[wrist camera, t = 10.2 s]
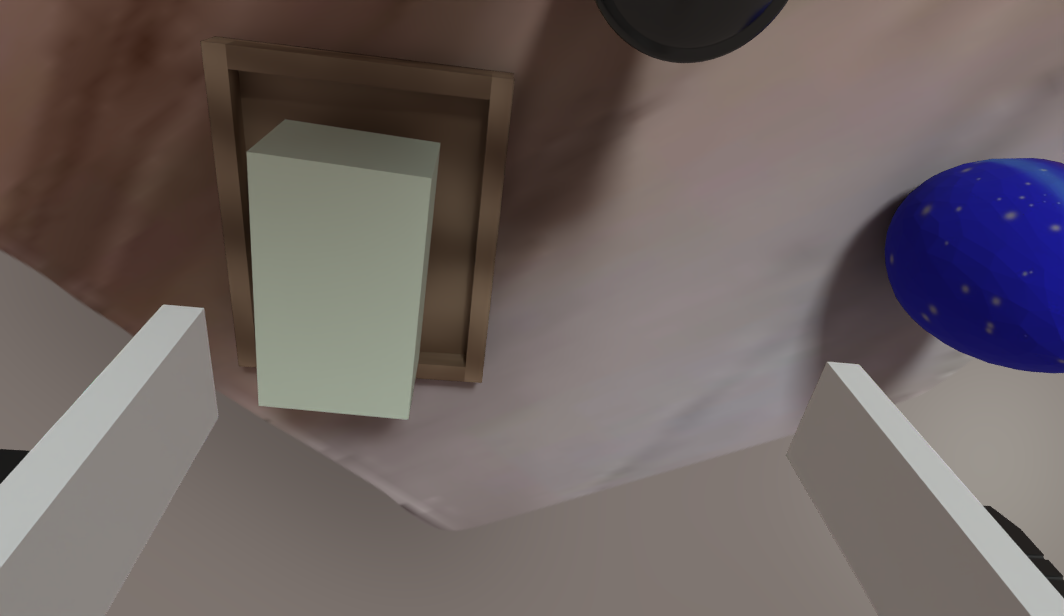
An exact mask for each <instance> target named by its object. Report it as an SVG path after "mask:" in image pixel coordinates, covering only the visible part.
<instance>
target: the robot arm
mask: <svg viewBox="0 0 1064 616" xmlns="http://www.w3.org/2000/svg"><path fill="white" fill-rule="evenodd" d="M218 417H219V416H218V408H217V401H216V393H215V386H214V378H213V371H212V363H211V356H210V348H209V341H208V333H207V326H206V318H205V311H204V308H198V307H186V306H175V305H162V306H161V307H160V308H159V310H158V311H157V312H156V313H155V314H154V315H153V316H152V317H151V318H150V319H149V321H148V322H147V323H146V324H145V325H144V326H143V327H142V328H141V329H140V331H139V332H138V333H137V334H136V335H135V336H134V337H133V338H132V339H131V341H130V342H129V343H128V344H127V345H126V346H125V347H124V348H123V349H122V351H121V352H120V353H119V354H118V355H117V356H116V357H115V358H114V359H113V360H112V362H111V363H110V364H109V365H108V366H107V367H106V368H105V369H104V371H102V373H101V374H100V375H99V376H98V377H97V378H96V379H95V380H94V381H93V382H92V384H91V385H90V386H89V387H88V388H87V389H86V390H85V391H84V392H83V394H82V395H81V396H80V397H79V398H78V399H77V400H76V401H75V402H74V403H73V405H72V406H71V407H70V408H69V409H68V410H67V411H66V412H65V413H64V415H63V416H62V417H61V418H60V419H59V420H58V421H57V422H56V424H54V426H53V427H52V428H51V429H50V430H49V431H48V432H47V433H46V435H44V437H43V438H42V439H41V440H40V441H39V442H38V443H37V444H36V445H35V447H34V448H33V449H32V450H31V451H23V450H6V449H0V616H105V615H106V613H107V611H108V609H109V608H110V606H111V604H112V602H113V601H114V599H115V597H116V595H117V594H118V592H119V590H120V588H121V587H122V585H123V583H124V581H125V580H126V578H127V576H128V574H129V573H130V571H131V569H132V567H133V566H134V564H135V562H136V560H137V559H138V557H139V555H140V553H141V552H142V550H143V548H144V546H145V545H146V543H147V541H148V539H149V538H150V536H151V534H152V533H153V531H154V529H155V527H156V526H157V524H158V522H159V520H160V518H161V517H162V515H163V513H164V512H165V510H166V508H167V506H168V505H169V503H170V501H171V499H172V497H173V496H174V494H175V492H176V491H177V489H178V487H179V485H180V484H181V482H182V480H183V478H184V477H185V475H186V473H187V472H188V470H189V468H190V466H191V465H192V463H193V461H194V459H195V457H196V456H197V454H198V452H199V450H200V449H201V447H202V445H203V444H204V441H205V440H206V438H207V437H208V435H209V433H210V431H211V430H212V428H213V426H214V424H215V423H216V421H217V419H218ZM786 456H787V458H788V460H789V461H790V463H791V465H792V467H793V469H794V470H795V472H796V474H797V476H798V477H799V479H800V481H801V483H802V484H803V486H804V487H805V489H806V491H807V493H808V495H809V496H810V498H811V499H812V502H813V503H814V505H815V507H816V509H817V510H818V512H819V514H820V515H821V517H822V519H823V521H824V522H825V524H826V526H827V528H828V529H829V531H830V533H831V534H832V536H833V538H834V539H835V541H836V543H837V545H838V547H839V548H840V550H841V552H842V554H843V555H844V557H845V558H846V561H847V562H848V564H849V566H850V567H851V569H852V571H853V573H854V574H855V576H856V578H857V579H858V581H859V583H860V585H861V586H862V588H863V590H864V592H865V594H866V595H867V597H868V599H869V600H870V602H871V604H872V606H873V607H874V609H875V611H876V613H877V614H878V616H1064V580H1063V575H1062V574H1061V573H1060V572H1059V571H1058V570H1057V569H1056V568H1055V567H1054V566H1053V564H1051V562H1050V561H1049V560H1045V559H1044V558H1043V556H1044V555H1043V553H1042V552H1041V551H1040V550H1039V549H1038V548H1037V547H1036V546H1035V545H1034V543H1033V542H1032V541H1031V540H1030V539H1029V538H1028V537H1027V536H1026V535H1025V533H1024V532H1023V531H1021V529H1020V528H1018V527H1017V526H1015V525H1014V524H1013V523H1012V522H1011V521H1009V520H1008V519H1007V518H1005V517H1004V516H1003V515H1001V514H1000V513H999V512H997V511H996V510H995V509H993V508H992V507H991V506H983V505H982V504H981V503H980V502H979V501H978V500H977V499H976V497H975V496H974V495H973V494H972V493H971V492H970V491H969V489H968V488H967V487H966V486H965V485H964V484H963V483H962V482H961V480H960V479H959V478H958V477H957V476H956V475H955V473H954V472H953V471H952V470H951V469H950V468H949V467H948V465H947V464H946V463H945V462H944V461H943V460H942V459H941V457H940V456H939V455H938V454H937V453H936V452H935V451H934V449H933V448H932V447H931V446H930V445H929V444H928V443H927V441H926V440H925V439H924V438H923V437H922V436H921V435H920V433H919V432H918V431H917V430H916V429H915V428H914V427H913V425H912V424H911V423H910V422H909V421H908V420H907V419H906V417H905V416H904V415H903V414H902V413H901V412H900V411H899V409H898V408H897V407H896V406H895V405H894V404H893V403H892V401H891V400H890V399H889V398H888V397H887V396H886V395H885V393H884V392H883V391H882V390H881V389H880V388H879V387H878V385H877V384H876V383H875V382H874V381H873V380H872V379H871V377H870V376H869V375H868V374H867V373H866V372H865V371H864V369H863V368H862V367H861V366H860V365H859V364H849V363H837V362H827V363H826V365H825V367H824V369H823V372H822V374H821V376H820V378H819V381H818V383H817V385H816V388H815V390H814V392H813V394H812V397H811V399H810V401H809V403H808V406H807V408H806V410H805V412H804V415H803V417H802V419H801V422H800V424H799V426H798V428H797V431H796V433H795V435H794V438H793V440H792V442H791V444H790V447H789V449H788V451H787V454H786Z"/></svg>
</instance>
